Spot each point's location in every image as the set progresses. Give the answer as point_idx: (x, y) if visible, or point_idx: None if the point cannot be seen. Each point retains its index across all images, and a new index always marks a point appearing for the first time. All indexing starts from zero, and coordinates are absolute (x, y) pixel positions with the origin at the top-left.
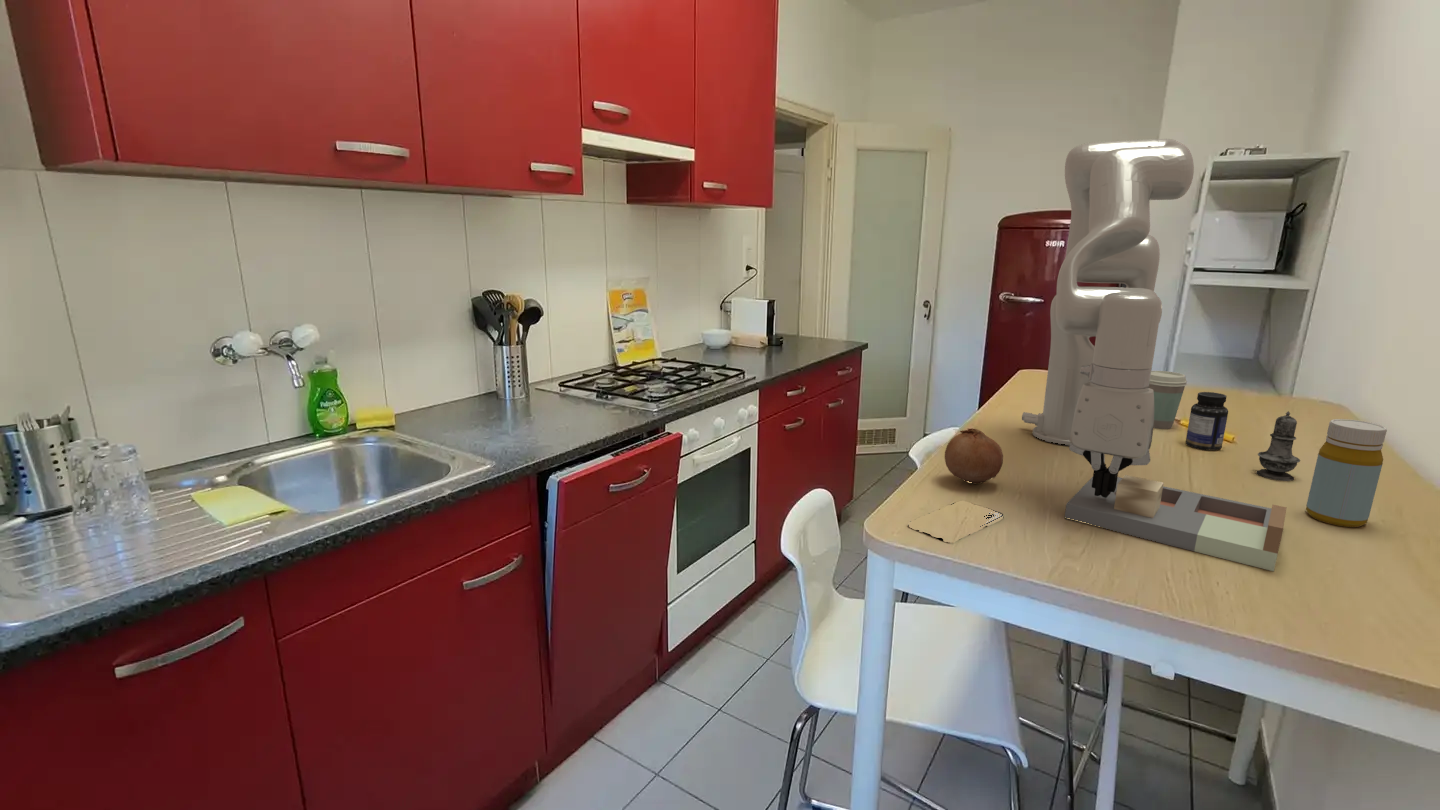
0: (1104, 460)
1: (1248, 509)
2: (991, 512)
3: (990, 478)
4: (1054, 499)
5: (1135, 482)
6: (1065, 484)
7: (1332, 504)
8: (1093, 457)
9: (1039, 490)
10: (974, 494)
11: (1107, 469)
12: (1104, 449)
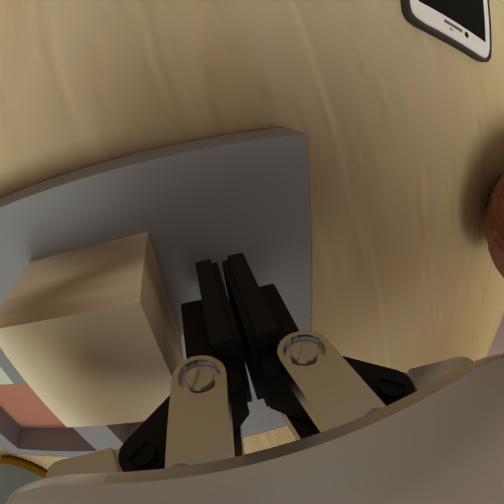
0: (288, 425)
1: (37, 444)
2: (432, 14)
3: (489, 207)
4: (351, 258)
5: (108, 375)
6: (348, 357)
7: (10, 479)
8: (350, 388)
9: (390, 282)
10: (483, 136)
11: (239, 373)
12: (314, 478)
